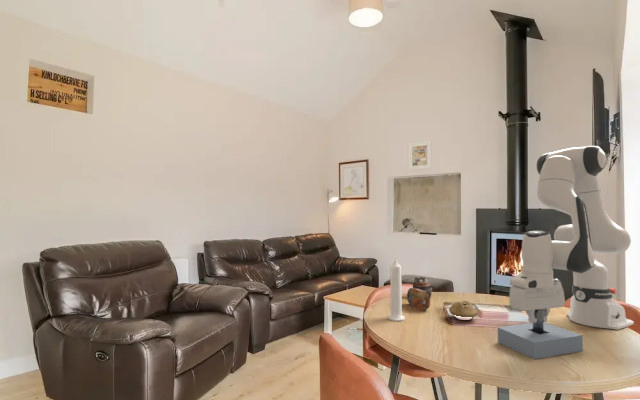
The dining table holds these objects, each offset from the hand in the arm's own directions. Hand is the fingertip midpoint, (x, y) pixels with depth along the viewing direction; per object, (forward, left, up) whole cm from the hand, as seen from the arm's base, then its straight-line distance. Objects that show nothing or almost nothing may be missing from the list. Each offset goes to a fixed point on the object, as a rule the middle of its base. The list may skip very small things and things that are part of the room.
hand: (538, 322), depth 113 cm
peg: (0, 0, -4) cm, 4 cm away
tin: (+12, -51, -8) cm, 53 cm away
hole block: (0, 0, -8) cm, 8 cm away
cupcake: (-1, -67, -8) cm, 67 cm away
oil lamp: (+3, -32, -8) cm, 33 cm away
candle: (+30, -40, -8) cm, 50 cm away
